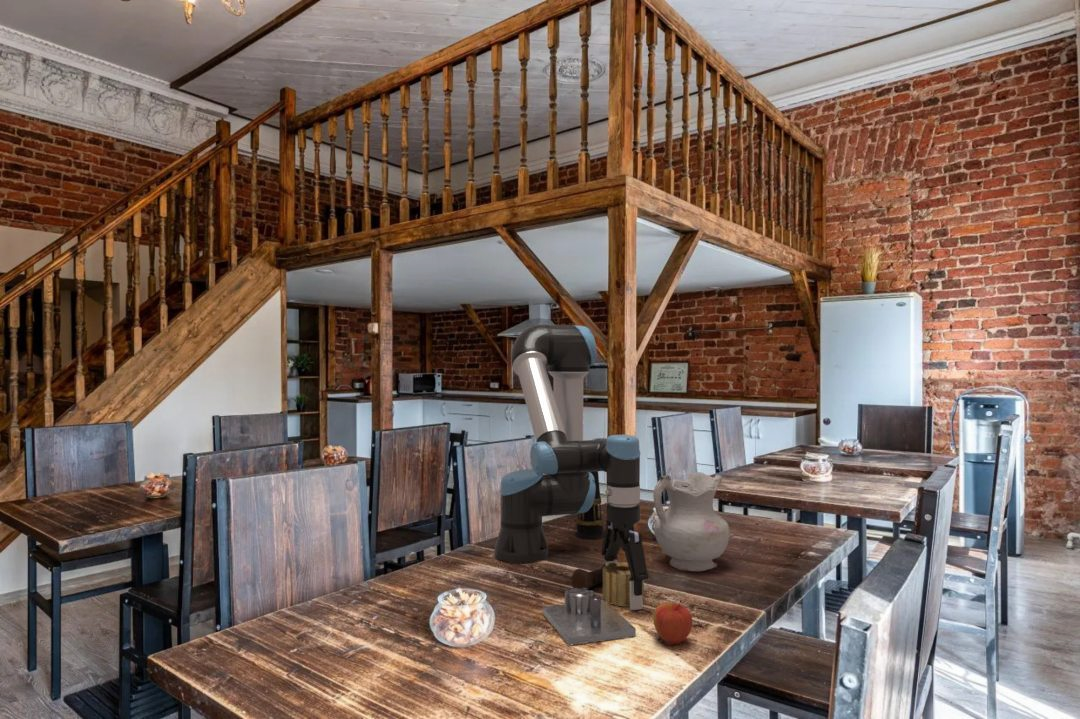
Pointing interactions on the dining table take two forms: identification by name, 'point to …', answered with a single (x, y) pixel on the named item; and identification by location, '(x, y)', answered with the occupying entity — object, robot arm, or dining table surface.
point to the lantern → (591, 517)
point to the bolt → (587, 578)
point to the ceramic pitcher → (690, 522)
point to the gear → (617, 583)
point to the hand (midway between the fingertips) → (623, 598)
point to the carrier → (587, 618)
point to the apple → (672, 622)
